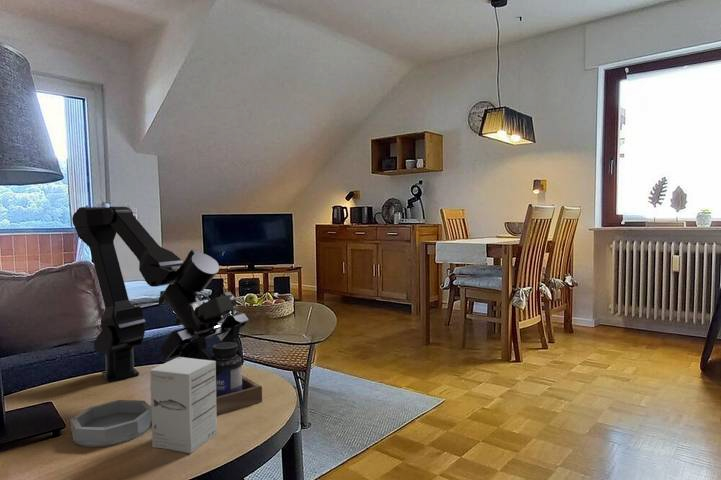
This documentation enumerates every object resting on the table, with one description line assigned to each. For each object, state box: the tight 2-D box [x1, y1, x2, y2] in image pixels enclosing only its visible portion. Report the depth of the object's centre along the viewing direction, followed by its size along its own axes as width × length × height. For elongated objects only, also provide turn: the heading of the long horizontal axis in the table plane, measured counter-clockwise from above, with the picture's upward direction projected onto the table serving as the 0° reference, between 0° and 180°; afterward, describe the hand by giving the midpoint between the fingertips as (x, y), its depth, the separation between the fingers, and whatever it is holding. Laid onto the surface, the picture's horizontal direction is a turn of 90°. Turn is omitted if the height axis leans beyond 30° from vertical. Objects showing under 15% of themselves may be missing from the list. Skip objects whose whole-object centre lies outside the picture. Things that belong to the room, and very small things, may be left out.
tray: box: [70, 399, 152, 448], centre depth 81 cm, size 12×12×3 cm
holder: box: [216, 375, 263, 416], centre depth 93 cm, size 10×10×3 cm
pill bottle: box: [212, 342, 243, 397], centre depth 93 cm, size 6×6×11 cm
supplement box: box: [149, 356, 218, 454], centre depth 77 cm, size 7×7×13 cm
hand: (231, 368), depth 92 cm, fingers closed on pill bottle, 6 cm apart
